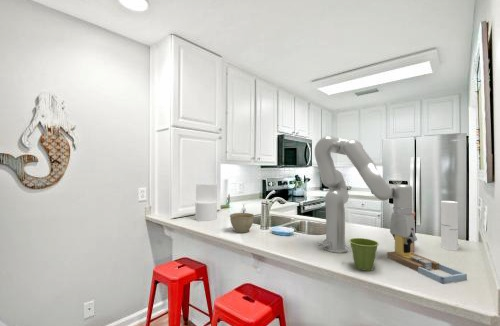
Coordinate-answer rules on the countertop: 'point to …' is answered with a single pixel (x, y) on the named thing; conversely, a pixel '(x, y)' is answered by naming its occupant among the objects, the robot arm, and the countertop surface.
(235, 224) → the planter bowl
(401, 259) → the slot board
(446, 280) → the tray
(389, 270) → the countertop surface
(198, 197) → the cylinder
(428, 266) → the chip
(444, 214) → the cylindrical container
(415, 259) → the pale grey block
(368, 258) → the plant pot
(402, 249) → the l-shaped block
